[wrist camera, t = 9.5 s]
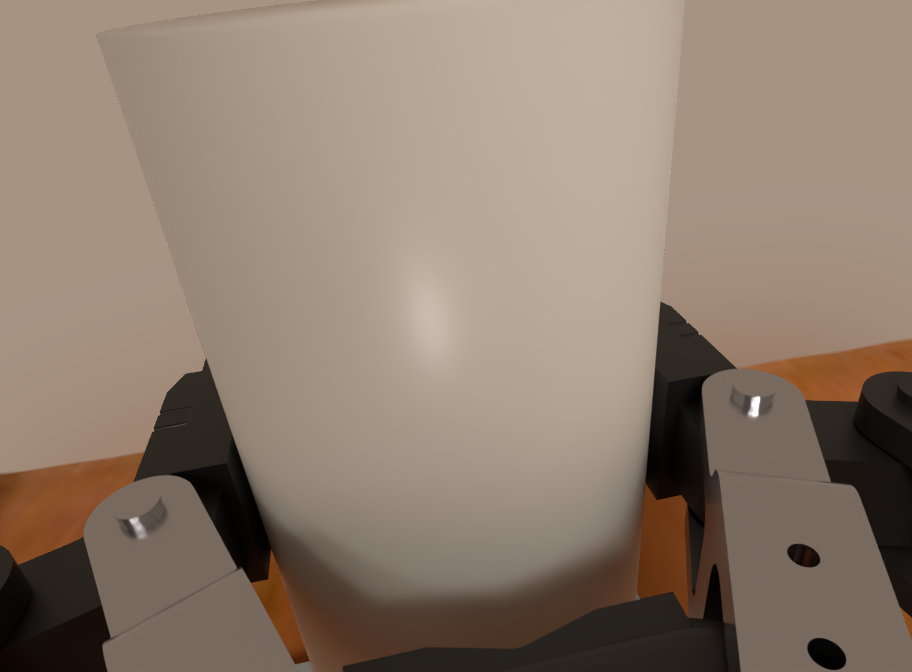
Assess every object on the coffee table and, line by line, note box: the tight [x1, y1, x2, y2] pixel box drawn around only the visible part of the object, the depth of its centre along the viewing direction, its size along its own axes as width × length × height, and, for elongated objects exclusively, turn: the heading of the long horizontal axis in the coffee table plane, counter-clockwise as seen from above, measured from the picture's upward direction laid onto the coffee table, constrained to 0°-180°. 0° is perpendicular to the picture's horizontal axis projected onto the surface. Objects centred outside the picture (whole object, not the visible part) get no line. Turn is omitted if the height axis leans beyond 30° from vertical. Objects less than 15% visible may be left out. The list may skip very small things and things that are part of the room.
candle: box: [96, 0, 685, 672], centre depth 10 cm, size 6×6×14 cm
